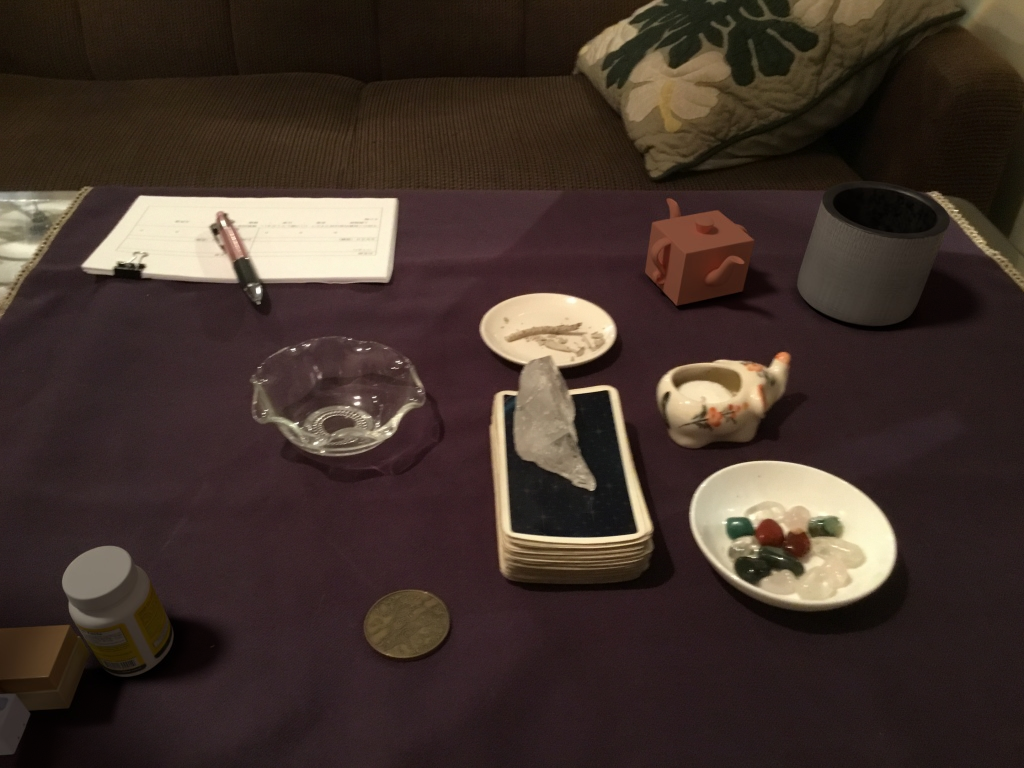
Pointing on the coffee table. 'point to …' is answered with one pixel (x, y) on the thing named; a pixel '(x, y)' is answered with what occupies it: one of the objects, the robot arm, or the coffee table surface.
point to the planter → (871, 252)
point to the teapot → (698, 255)
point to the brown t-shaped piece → (41, 665)
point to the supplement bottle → (117, 611)
